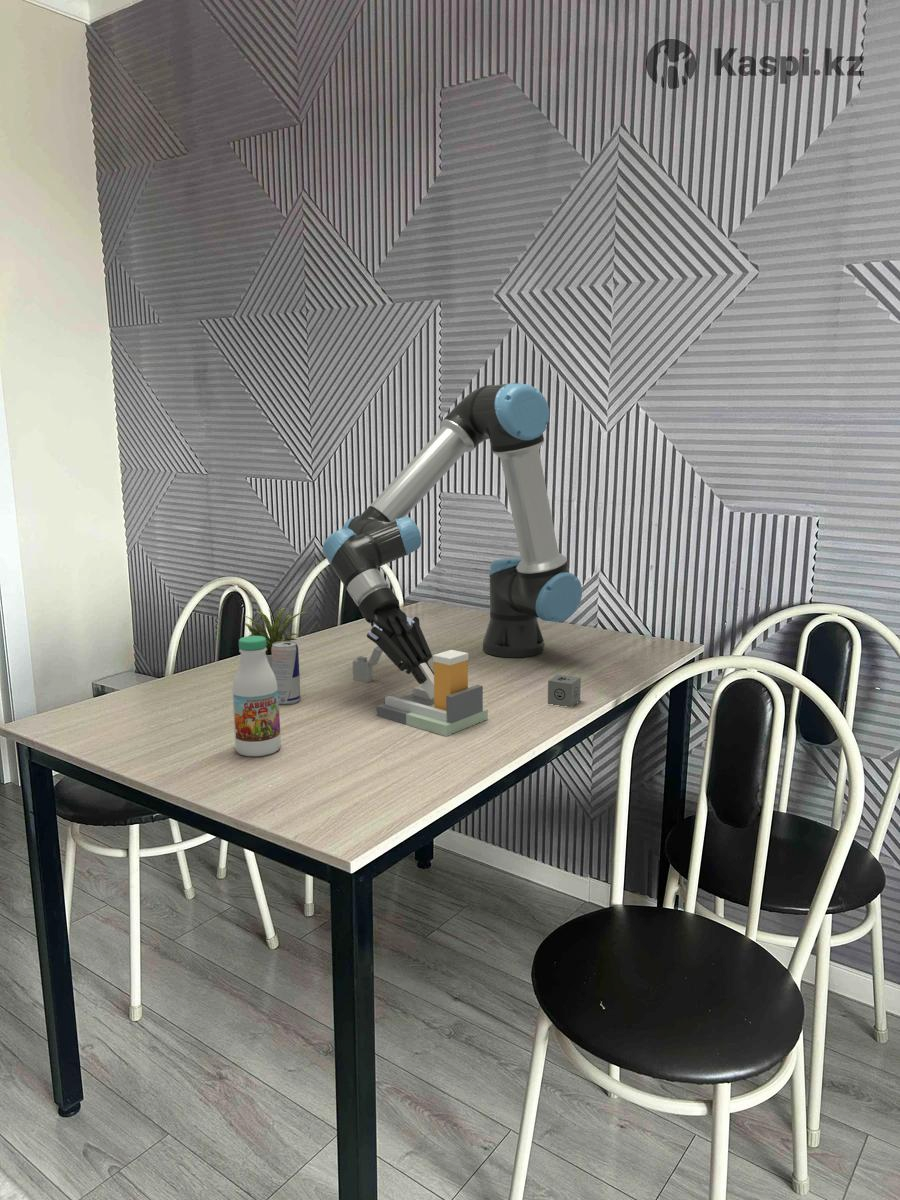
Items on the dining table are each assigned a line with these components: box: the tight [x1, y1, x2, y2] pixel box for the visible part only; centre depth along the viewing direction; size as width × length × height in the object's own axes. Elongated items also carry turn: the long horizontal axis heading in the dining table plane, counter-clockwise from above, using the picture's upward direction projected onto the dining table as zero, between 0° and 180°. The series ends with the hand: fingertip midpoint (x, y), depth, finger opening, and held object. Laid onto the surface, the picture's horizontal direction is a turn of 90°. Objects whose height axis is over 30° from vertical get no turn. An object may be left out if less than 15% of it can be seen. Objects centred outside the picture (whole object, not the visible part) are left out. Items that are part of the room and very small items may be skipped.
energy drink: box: [271, 640, 301, 705], centre depth 181 cm, size 5×5×12 cm
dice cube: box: [547, 673, 582, 708], centre depth 178 cm, size 5×5×5 cm
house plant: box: [244, 606, 307, 671], centre depth 197 cm, size 14×14×16 cm
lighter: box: [352, 645, 383, 683], centre depth 194 cm, size 7×2×8 cm, turn 63°
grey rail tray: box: [375, 684, 489, 737], centre depth 170 cm, size 18×12×7 cm, turn 49°
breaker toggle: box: [432, 649, 469, 711], centre depth 166 cm, size 4×5×11 cm
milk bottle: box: [232, 635, 282, 757], centre depth 153 cm, size 8×8×20 cm
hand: (437, 694), depth 168 cm, fingers closed
